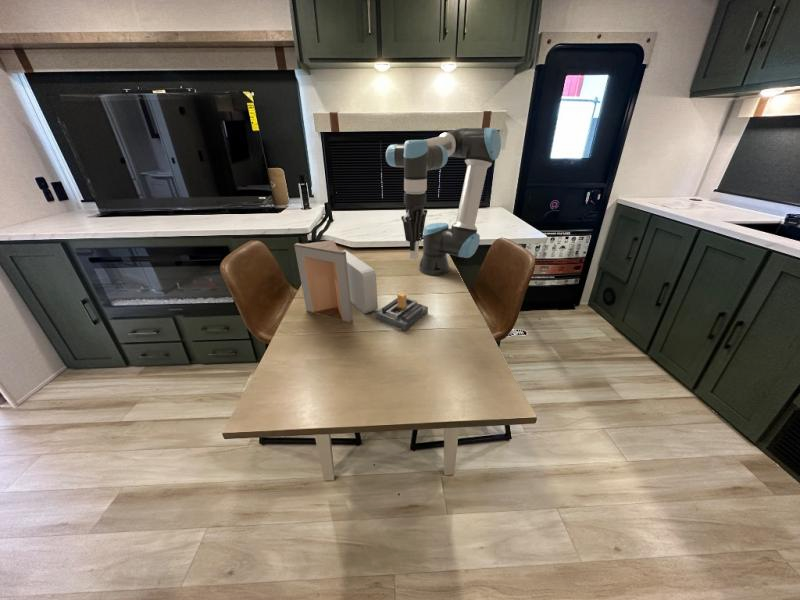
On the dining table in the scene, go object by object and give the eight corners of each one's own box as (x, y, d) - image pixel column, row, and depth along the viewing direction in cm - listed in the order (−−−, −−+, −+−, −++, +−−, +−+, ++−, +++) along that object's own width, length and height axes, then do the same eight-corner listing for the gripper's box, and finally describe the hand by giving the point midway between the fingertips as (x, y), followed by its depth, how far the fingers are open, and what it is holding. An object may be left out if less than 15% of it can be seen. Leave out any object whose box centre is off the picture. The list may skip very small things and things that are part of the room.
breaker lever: (401, 306, 121) (401, 292, 118) (407, 308, 120) (407, 294, 116) (396, 309, 119) (396, 295, 116) (402, 312, 118) (402, 297, 114)
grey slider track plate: (399, 299, 126) (399, 296, 125) (424, 308, 120) (424, 305, 119) (382, 311, 118) (382, 308, 118) (407, 321, 112) (407, 318, 111)
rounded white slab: (383, 310, 125) (381, 269, 116) (366, 316, 121) (363, 274, 112) (351, 284, 146) (348, 247, 137) (336, 288, 142) (331, 250, 133)
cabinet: (306, 311, 125) (294, 244, 111) (321, 300, 132) (311, 236, 119) (350, 323, 117) (343, 252, 103) (363, 311, 124) (358, 244, 111)
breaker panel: (399, 303, 130) (398, 293, 127) (427, 313, 122) (428, 303, 120) (375, 319, 119) (375, 309, 117) (405, 331, 112) (405, 320, 110)
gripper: (416, 187, 111) (415, 251, 122) (394, 193, 102) (395, 261, 113) (434, 190, 107) (431, 255, 118) (413, 196, 98) (412, 266, 109)
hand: (414, 258), depth 116 cm, fingers closed
